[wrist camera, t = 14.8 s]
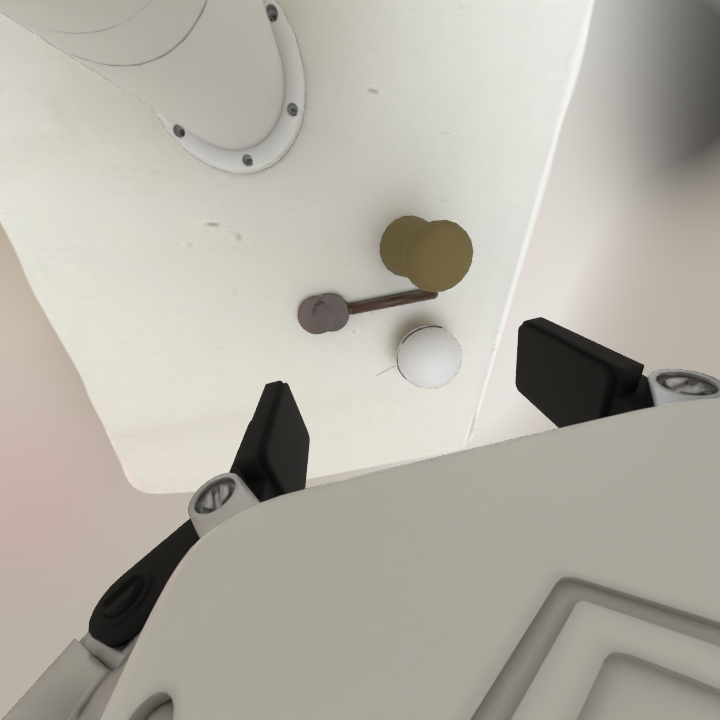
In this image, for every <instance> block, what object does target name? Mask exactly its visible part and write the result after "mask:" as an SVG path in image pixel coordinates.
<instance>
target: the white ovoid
mask: <svg viewBox="0 0 720 720" xmlns="http://www.w3.org/2000/svg"><path fill="white" fill-rule="evenodd" d="M461 362H462V350H461V346H460V344H459V342H458V341H457V339H456V338H455V337H454V335H453V334H452V333H450V332H449V331H447V330H446V329H444V328H442V327H439V326H434V325H425V326H421V327H418V328H415V329H413V330H412V331H411V332H409V333H408V334H407V335H405V337H404V338H403V339H402V341H401V342H400V344H399V347H398V350H397V366H398V369H399V371H400V373H401V375H402V376H403V377H404V378H405V379H407V380H408V381H409V382H410V383H411V384H413V385H415V386H417V387H421V388H427V389H433V388H439V387H442V386H444V385H446V384H447V383H449V382H450V381H452V380H453V379H454V377H455V376H456V375H457V374H458V372H459V370H460V368H461ZM393 367H394V366H393ZM391 368H392V367H391ZM389 369H390V368H389ZM387 370H388V369H387ZM384 372H385V371H384ZM382 373H383V372H382ZM378 375H379V374H378ZM376 376H377V375H376Z"/></svg>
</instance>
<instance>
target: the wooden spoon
mask: <svg viewBox="0 0 720 720" xmlns="http://www.w3.org/2000/svg"><path fill="white" fill-rule="evenodd" d="M437 296H438V292H429V291H425V290H421V291H415V292H410V293H405V294H400V295H394V296H389V297H384V298H379V299H374V300H368V301H363V302H358V303H353V304H349V305H347V303H346V301H345V300H344V299H343V298H342V297H340V296H338V295H336V294H325V295H322V296H320V297H319V296H314V297H310V298H308V299H306V300H305V301H304V302H303V303H302V304H301V306H300V308H299V311H298V320H299V323H300V325H301V326H302V327H303V328H304V329H305V330H306V331H308V332H310V333H313V334H322V333H325V332H327V331H337V330H339V329H341V328H343V327H344V326H345V324H346V323H347V321H348V319H349V314H357V313H362V312H368V311H373V310H378V309H383V308H388V307H394V306H399V305H404V304H409V303H415V302H420V301H425V300H430V299H435V298H436V297H437Z"/></svg>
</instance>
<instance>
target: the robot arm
mask: <svg viewBox="0 0 720 720" xmlns="http://www.w3.org/2000/svg"><path fill="white" fill-rule="evenodd" d="M0 13H2V14H3V15H5V16H6V17H8V18H10V19H11V20H13V21H14V22H16V23H18V24H19V25H21V26H22V27H24V28H26V29H27V30H29V31H30V32H32V33H34V34H35V35H37V36H38V37H40V38H42V39H43V40H44V41H46V42H47V43H49V44H50V45H52V46H54V47H55V48H57V49H58V50H60V51H62V52H63V53H65V54H66V55H68V56H70V57H71V58H73V59H74V60H76V61H78V62H79V63H81V64H82V65H84V66H86V67H87V68H89V69H90V70H92V71H94V72H95V73H97V74H98V75H100V76H102V77H103V78H105V79H106V80H108V81H110V82H111V83H113V84H114V85H116V86H118V87H119V88H121V89H122V90H124V91H126V92H127V93H129V94H130V95H132V96H134V97H135V98H137V99H138V100H140V101H142V102H143V103H145V104H146V105H148V106H150V107H151V108H152V109H153V111H154V112H155V114H156V115H157V117H158V119H159V120H160V122H161V123H162V125H163V126H164V128H165V129H166V130H167V131H168V132H169V134H170V135H171V136H172V137H173V138H174V139H175V141H176V142H177V143H178V144H179V145H181V146H182V147H183V148H184V149H185V150H186V151H187V152H189V153H190V154H191V155H193V156H194V157H196V158H197V159H199V160H200V161H202V162H204V163H205V164H207V165H210V166H212V167H214V168H216V169H220V170H223V171H226V172H229V173H239V174H247V173H255V172H259V171H261V170H264V169H266V168H269V167H270V166H272V165H273V164H275V163H276V162H278V161H279V160H280V159H281V158H282V157H283V156H284V155H285V154H286V153H287V152H288V150H289V149H290V147H291V146H292V144H293V142H294V141H295V139H296V137H297V135H298V132H299V129H300V126H301V123H302V119H303V114H304V108H305V78H304V69H303V64H302V59H301V55H300V50H299V47H298V44H297V41H296V38H295V35H294V32H293V29H292V27H291V25H290V23H289V21H288V19H287V17H286V15H285V13H284V11H283V9H282V8H281V6H280V5H279V3H278V2H277V0H0ZM272 17H276V18H277V20H276V21H274V22H272V21H271V18H272ZM292 110H295V111H296V112H297V114H296V115H295V116H292V115H291V111H292ZM183 130H184V131H185V135H184V137H183V136H182V134H181V132H182V131H183ZM249 159H251V160H252V165H248V162H247V161H248V160H249ZM643 368H644V365H643V364H641V363H638V362H636V361H634V360H632V359H630V358H628V357H626V356H623V355H621V354H619V353H617V352H615V351H613V350H611V349H609V348H606V347H604V346H602V345H600V344H597V343H596V342H594V341H591V340H589V339H587V338H585V337H583V336H581V335H579V334H576V333H574V332H572V331H570V330H568V329H566V328H563V327H561V326H559V325H557V324H555V323H553V322H551V321H549V320H546V319H544V318H542V317H539V318H535V319H531V320H527V321H524V322H523V324H522V325H521V326H520V327H519V330H518V347H517V365H516V387H517V389H518V391H519V392H520V393H521V394H523V395H524V396H525V397H526V398H527V399H528V400H529V401H530V402H531V403H532V404H533V405H534V406H536V407H537V408H538V409H539V410H540V411H541V412H542V413H543V414H544V415H545V416H546V417H548V418H549V419H550V420H551V421H552V422H553V423H554V424H555V425H556V426H557V427H558V428H557V429H553V430H548V431H544V432H540V433H536V434H532V435H527V436H523V437H519V438H515V439H510V440H506V441H502V442H497V443H493V444H489V445H485V446H480V447H476V448H472V449H468V450H463V451H459V452H455V453H451V454H447V455H442V456H438V457H434V458H430V459H425V460H421V461H417V462H413V463H409V464H404V465H400V466H396V467H392V468H388V469H383V470H380V471H375V472H371V473H367V474H363V475H359V476H355V477H351V478H347V479H342V480H338V481H334V482H330V483H325V484H321V485H317V486H314V487H310V488H306V489H305V484H306V474H307V463H308V453H309V442H310V439H309V434H308V431H307V428H306V426H305V424H304V421H303V419H302V416H301V414H300V412H299V409H298V407H297V404H296V402H295V400H294V397H293V395H292V392H291V390H290V388H289V385H288V384H287V383H283V382H282V381H277V382H272V383H268V384H266V385H265V388H264V390H263V393H262V395H261V398H260V401H259V403H258V406H257V408H256V411H255V413H254V416H253V418H252V421H250V423H249V425H248V427H247V430H246V432H245V435H244V437H243V440H242V442H241V445H240V447H239V450H238V452H237V455H236V457H235V460H234V462H233V465H232V467H231V470H230V472H229V473H225V474H221V475H218V476H216V477H214V478H212V479H211V480H209V481H207V482H206V483H205V484H204V485H203V486H201V487H200V488H199V489H198V491H197V492H196V493H195V494H194V496H193V497H192V499H191V501H190V503H189V507H188V513H189V516H190V519H189V520H188V521H187V522H185V523H184V524H183V525H182V526H181V527H179V528H178V529H177V530H176V531H175V532H173V533H172V534H171V535H170V536H169V537H168V538H166V539H165V540H164V541H163V542H161V543H160V544H159V545H158V546H157V547H156V548H154V549H153V550H152V551H151V552H150V553H149V554H147V555H146V556H145V557H144V558H143V559H142V560H140V561H139V562H138V563H137V564H135V565H134V566H133V567H132V568H131V569H130V570H128V571H127V572H126V573H125V574H124V575H122V576H121V577H120V578H119V579H118V580H117V581H116V582H115V583H114V584H113V585H112V586H111V587H110V588H109V589H108V590H107V591H106V593H105V594H104V595H103V597H102V598H101V599H100V601H99V602H98V604H97V606H96V607H95V609H94V611H93V613H92V616H91V618H90V621H89V631H88V633H87V634H86V635H85V636H84V637H83V638H82V639H81V640H80V641H78V640H77V639H74V640H73V641H72V642H71V643H70V644H69V645H68V646H67V647H66V648H65V650H64V651H63V652H62V653H61V654H60V655H59V656H58V657H57V659H56V660H55V661H54V662H53V663H52V664H51V665H50V666H49V667H48V669H47V670H46V671H45V672H44V673H43V674H42V675H41V676H40V677H39V679H38V680H37V681H36V682H35V683H34V684H33V685H32V686H31V687H30V689H29V690H28V691H27V692H26V693H25V694H24V695H23V697H21V699H20V700H19V701H18V702H17V703H16V704H15V705H14V706H13V707H12V709H11V710H10V711H9V712H8V713H7V714H6V715H5V716H4V717H3V719H2V720H720V381H719V380H718V379H716V378H714V377H711V376H708V375H706V374H702V373H699V372H695V371H688V370H682V369H662V370H657V371H654V372H652V373H651V374H650V375H649V377H648V378H647V377H646V376H644V375H642V372H643Z"/></svg>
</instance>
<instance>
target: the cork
mask: <svg viewBox="0 0 720 720" xmlns="http://www.w3.org/2000/svg"><path fill="white" fill-rule="evenodd" d="M380 254H381V258H382V261H383V263H384V264H385V266H386V267H387V268H388V270H390V271H391V272H393V273H394V274H396V275H400V276H404V277H408V278H409V279H410V281H411V282H412V283H413V284H414V285H416V286H417V287H419V288H420V289H421V290H425V291H429V292H439V291H445V290H447V289H450V288H452V287H454V286H455V285H456V284H458V283H459V282H460V281H461V280H462V279H463V277H464V276H465V275H466V274H467V272H468V270H469V267H470V265H471V263H472V256H473V248H472V242H471V239H470V238H469V236H468V234H467V232H466V231H465V230H464V229H463V228H461V227H460V226H459V225H458V224H457V223H454V222H451V221H448V220H440V221H432V222H427V221H425V220H423V219H421V218H418V217H415V216H404V217H401V218H399V219H397V220H395V221H394V222H393V223H391V224H390V225H389V226H388V227H387V229H386V231H385V232H384V234H383V236H382V240H381V243H380Z"/></svg>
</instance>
